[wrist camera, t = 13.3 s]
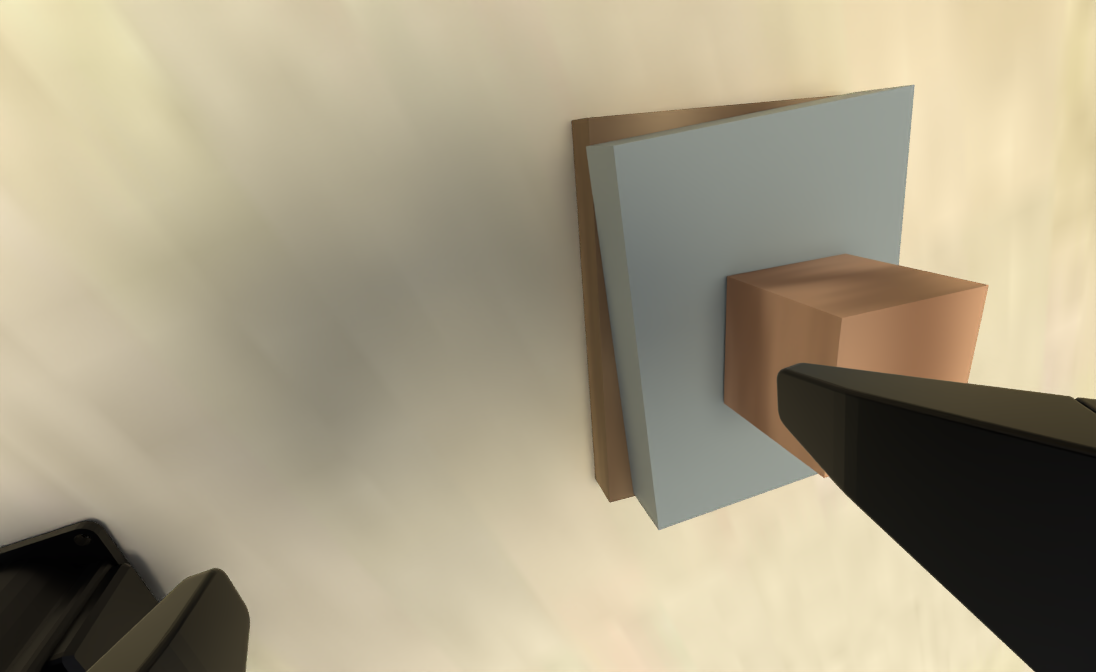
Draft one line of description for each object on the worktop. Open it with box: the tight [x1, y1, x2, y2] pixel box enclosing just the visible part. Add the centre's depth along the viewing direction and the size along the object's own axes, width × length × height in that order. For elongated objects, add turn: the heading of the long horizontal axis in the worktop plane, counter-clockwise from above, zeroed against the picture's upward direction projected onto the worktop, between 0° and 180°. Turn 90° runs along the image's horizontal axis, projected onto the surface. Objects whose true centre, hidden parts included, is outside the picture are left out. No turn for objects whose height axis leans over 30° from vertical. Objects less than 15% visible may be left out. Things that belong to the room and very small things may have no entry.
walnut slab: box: [572, 95, 839, 502], centre depth 23 cm, size 12×16×2 cm
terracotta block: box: [724, 254, 988, 478], centre depth 17 cm, size 5×5×5 cm
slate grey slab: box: [586, 85, 914, 530], centre depth 20 cm, size 11×15×2 cm
